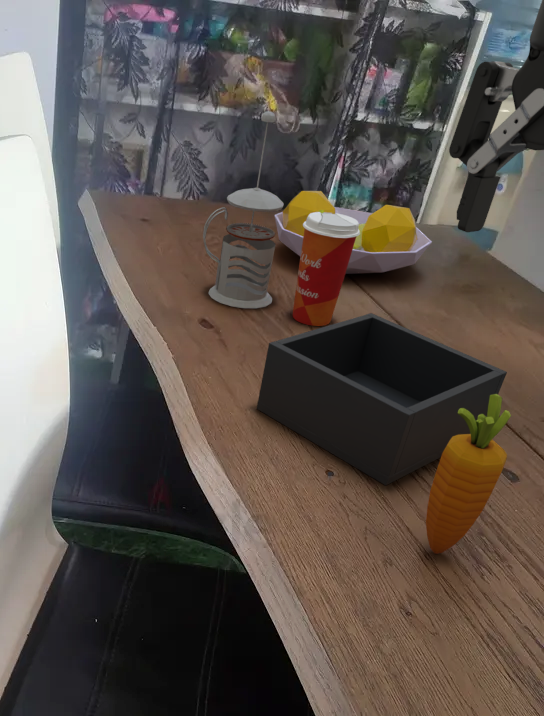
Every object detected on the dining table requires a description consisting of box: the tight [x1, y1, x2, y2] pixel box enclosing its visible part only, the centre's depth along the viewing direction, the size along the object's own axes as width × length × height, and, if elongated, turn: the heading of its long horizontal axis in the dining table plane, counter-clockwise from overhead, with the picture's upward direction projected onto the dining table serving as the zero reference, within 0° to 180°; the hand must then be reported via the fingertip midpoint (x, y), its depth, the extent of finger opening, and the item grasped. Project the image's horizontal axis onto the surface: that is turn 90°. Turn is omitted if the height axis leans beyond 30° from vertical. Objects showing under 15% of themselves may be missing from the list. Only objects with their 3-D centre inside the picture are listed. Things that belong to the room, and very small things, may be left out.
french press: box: [202, 110, 284, 309], centre depth 104 cm, size 10×12×25 cm
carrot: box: [425, 394, 512, 555], centre depth 60 cm, size 5×5×15 cm
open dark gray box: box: [256, 312, 508, 486], centre depth 81 cm, size 18×18×8 cm
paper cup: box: [292, 212, 360, 327], centre depth 103 cm, size 8×8×14 cm
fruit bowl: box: [274, 190, 433, 275], centre depth 126 cm, size 28×27×11 cm
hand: (518, 247), depth 51 cm, fingers open, 8 cm apart
